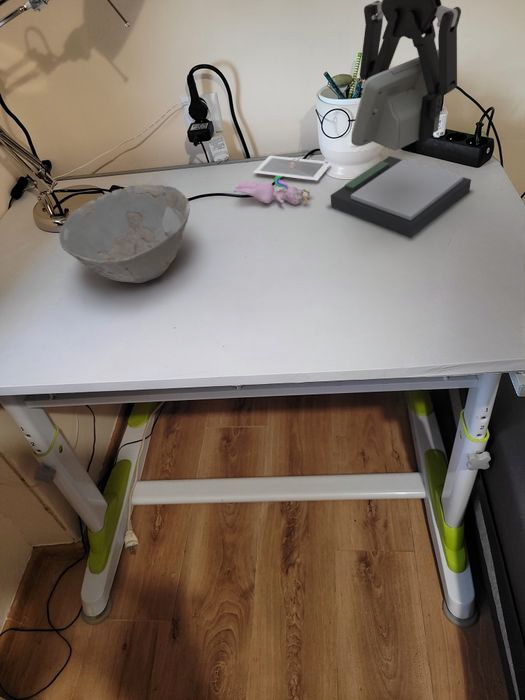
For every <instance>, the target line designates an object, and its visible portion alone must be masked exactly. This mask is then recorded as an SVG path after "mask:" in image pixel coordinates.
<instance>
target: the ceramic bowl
mask: <svg viewBox="0 0 525 700" xmlns="http://www.w3.org/2000/svg"><path fill="white" fill-rule="evenodd" d="M190 211H191V206H190V201H189V199H188V198H187V196H186V195H185V194H184V193H182V192H181V191H180V190H179V189H177V188H176V187H174V186H169V185H165V186H164V185H162V184H160V185H159V184H157V185H155V184H137V185H130V186H127V187H126V186H125V187H123V188H118V189H114V190H112V191H111V192H106V193H104V194H101V195H99V196H97V197H96V199H95V198H94V199H92V200H89V201H87V202H86V203H84V204H82V206H79V208H76V209H75V210H74V211H73V212H72V213H71V214H70V215H69V216H68V217H67V218H66V219H65V221H64V222H63V224H62V226H61V228H60V230H59V233H58V240H59V244H60V247H61V248H62V250H63V251H65V252H66V253H68V254H69V255H71V256H72V257H74V258H75V259H76V260H77V261H79V262H80V263H81V264H83V265H84V266H86V267H88V268H89V269H90V270H92V271H94V272H96V273H97V274H99V275H100V276H103V277H105V278H107V279H109V280H111V281H115V282H125V283H134V284H142V283H146V282H148V281H152V280H155V279H157V278H159V277H161V276H162V275H164V273H165V272H166V271H167V270H168V268H169V267H170V265H171V264H172V262H173V261H174V260H175V258H176V256H177V254H178V252H179V249H180V246H181V242H182V238H183V233H184V231H185V229H186V226H187V223H188V220H189V216H190Z"/></svg>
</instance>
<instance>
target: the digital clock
mask: <svg viewBox="0 0 525 700" xmlns="http://www.w3.org/2000/svg"><path fill="white" fill-rule="evenodd" d="M437 53H438V58H439V48H437ZM427 94H428V93H427V89H426V85H425V80H424V76H423V72H422V68H421V64H420V60H419V56H418V57H415V58H413V59H410V60H407V61H405V62H403V63H401V64H398V65H395V66H393V67H389V69H388V70H386V71H383V72H381V73H378V74H376V75H374V76H372V77H370V78H368V79H367V80H365V82H364V84H363V89H362V93H361V96H360V100H359V104H358V108H357V111H356V115H355V119H354V123H353V126H352V131H351V144H353V145H354V146H356V147H363V146H366V145H369V144H371V143H376V144H377V145H380V146H382V147H384V148H387V149H389V150H391V151H398V150H400V149H402V148H405V147H406V146H409V145H410V144H412V143H415V142H418V141H419V131H420V119H421V108H422V97H423V96H425V95H427ZM440 117H441V114H440V115H439V116H438V117H437V118H435V123H434V132H433V134H434V133H436V132H438V131H439V126H440Z"/></svg>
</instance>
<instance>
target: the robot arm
mask: <svg viewBox="0 0 525 700" xmlns="http://www.w3.org/2000/svg"><path fill="white" fill-rule="evenodd" d="M363 14H364V15H363V16H364V22H365V28H364V37H363V44H362V50H361V51H362V53H361V61H360V66H359V67H360V68H359V78H360V80H362V81H364V80H365V81H366V80H367V79H368V78H370V77H372V76H374V75H376V74H378V73H381V72H383V71H386V70H388V69H390V67H391V63H392V61H393V58H394V56H395V54H396V50H397V48H398V45H399V43H400V40H401V39H402V38H407V39H409V40H412V44H413V47H414V48H416V51H417V55H418V57H419V60H420V64H421V68H422V72H423V76H424V80H425V85H426V89H427V93H428V94H427V95H425V96H423V97H422V108H421V119H420V131H419V140H418V142H419V143H422V144H424V143H425V142H427V141H428V140H429V139H431V138H433V137H434V133H435V132H434V123H435V118H437V117H438V116H439V115H440V116H441V111H442V102H443V96H446V95H447V94H449V93H450V92H452V91H453V90H455V89H456V88H457V87H458V25H459V23H460V18H461V14H462V9H461V8H460V6H455V7H453V8H451V7H448V6H444V5H443V4H442V0H382V1H380V0H376V1H374V2H371V3H369V4H367V5H365V6H364V8H363ZM383 18H384V19H385V21H386V22H387V23H386V26H385V29H384V31H383V21H384V19H383ZM436 19H437V22H436V27H437V28H438V34H437V35H438V36H437V40H438V41H437V44H436V40H435V39H436V29H435V26H434V21H435V20H436ZM382 31H383V35H382ZM423 35H424V36H423ZM381 36H382V41H381ZM380 44H381V45H380ZM436 45H438V46H436ZM437 47H438V48H437ZM438 49H439V58H438V53H437V50H438ZM433 132H434V133H433Z"/></svg>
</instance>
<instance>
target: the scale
mask: <svg viewBox="0 0 525 700" xmlns="http://www.w3.org/2000/svg"><path fill="white" fill-rule="evenodd" d="M471 183H472V179H470V178H467V177H464V175H461V174H457V173H453V172H450V171H447V170H444V169H439V168H437V167H434V166H430V165H425V164H422V163H419V162H415V161H411V160H408V159H405V158H403V159H401V158H398V157H395V156H391V155H389V156H388V157H386V158H384V159H383V160H380V161H379V162H377V163H376V164H374V165H372V166H371V167H369V168H368V169H366V170H365V171H364V172H362V173H360V174H358V175H357V176H356V177H354V178H353V179H351V180H350V181H348V182H347V183H345V184H344V185H343V186H342V187H341V188H339V189H338V190H336V191H335V192H332V194H330V207H331V208H333V209H336V210H338V211H340V212H343V213H346V214H348V215H351V216H354V217H357V218H358V219H361V220H363V221H367V222H370V223H372V224H374V225H377V226H380V227H382V228H385V229H386V230H390V231H392V232H395V233H398V234H400V235H403V236H405V237H408V238H410V239H411V238H413V237H414V236H415V235H417V234H418V233H419V232H420V231H422V230H423V229H424V228H426V227H427V226H428V225H429V224H430V223H433V221H434V220H436V219H437V218H438V217H439V216H440V215H442V214H443V213H445V212H446V211H447V210H448V209H449V208H451V207H452V206H453V205H454V204H456V203H458V202H459V201H460V200H461V199H463V197H465V196H466V195H467V194H468V193H470V189H471Z"/></svg>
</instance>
